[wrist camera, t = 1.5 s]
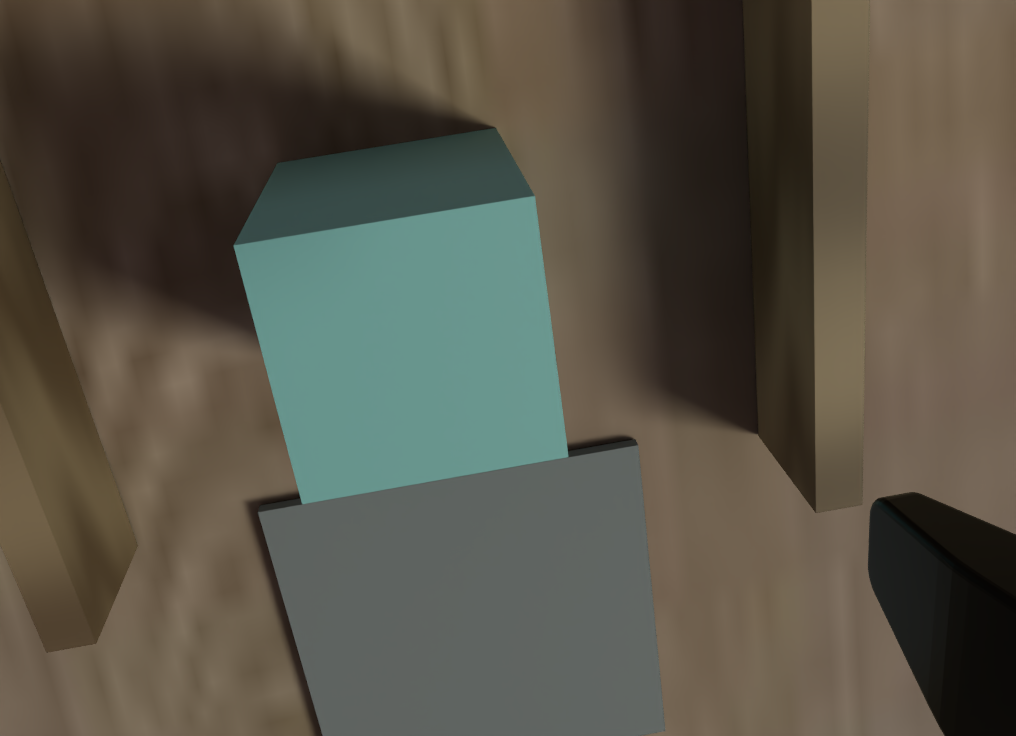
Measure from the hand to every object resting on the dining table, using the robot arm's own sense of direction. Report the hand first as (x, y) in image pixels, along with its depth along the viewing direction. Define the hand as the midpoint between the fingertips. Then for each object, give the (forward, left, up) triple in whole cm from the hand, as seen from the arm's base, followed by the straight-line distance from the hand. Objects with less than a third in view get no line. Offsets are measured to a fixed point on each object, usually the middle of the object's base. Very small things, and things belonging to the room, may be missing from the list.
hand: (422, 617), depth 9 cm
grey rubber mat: (-10, 0, -12) cm, 16 cm away
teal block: (0, 0, -13) cm, 13 cm away
